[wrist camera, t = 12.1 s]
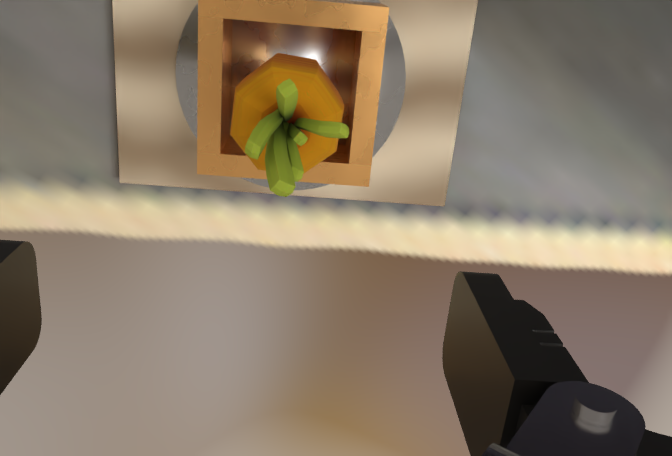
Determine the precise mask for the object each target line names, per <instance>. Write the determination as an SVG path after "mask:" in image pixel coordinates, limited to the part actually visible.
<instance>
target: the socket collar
mask: <svg viewBox="0 0 672 456" xmlns="http://www.w3.org/2000/svg"><path fill="white" fill-rule="evenodd" d="M277 53H282V54H287V55H293V56H299V57H305V58H311V59H316V60H317V62H318V63H319V65H320V66H321V68H322V69H323V70H324V72H325V73H326V75H327V76H328V78H329V79H330V80H331V82H332V83H333V85H334V86H335V88H336V89H337V90H338V92H339V94H340V96H341V98H342V100H343V103H344V112H343V118H342V123H344V124H346V125H347V126H348V127H349V135H348V138H339V140H338V146H337V151H336V152H335V153H333V154H332V155H330V156H329V157H327V158H326V159H324V160H323V161H322V162H320V163H319V164H317V165H316V166H314V167H313V168H311V169H310V170H309V171H307V172H306V173H304V174H303V176H302V179H301V180H299V181H298V182H295V185H296V187H295V189H294V190H306V189H314V188H318V187H322V186H326V185H329V184H336V185H349V186H363V187H369V183H370V174H371V165H372V157H374V155H375V154H376V153H377V152H378V151H379V150H380V148H381V147H382V146H383V145H384V143H385V142H386V140H387V139H388V137H389V135H390V134H391V132H392V130H393V128H394V126H395V124H396V122H397V120H398V117H399V114H400V111H401V107H402V103H403V98H404V93H405V81H406V71H405V59H404V54H403V49H402V45H401V42H400V39H399V36H398V33H397V30H396V28H395V26H394V24H393V22H392V20H391V18H390V16H389V7H388V6H386V5H383V4H381V3H380V2H379V0H198V3H197V5H196V6H195V8H194V9H193V11H192V12H191V14H190V16H189V18H188V20H187V22H186V24H185V26H184V29H183V32H182V35H181V38H180V41H179V45H178V50H177V56H176V71H175V73H176V87H177V92H178V97H179V102H180V105H181V108H182V111H183V114H184V117H185V119H186V121H187V123H188V125H189V127H190V129H191V131H192V132H193V134H194V135H195V137H196V139H197V174H201V175H215V176H228V177H241V178H242V179H244V180H247V181H249V182H252V183H254V184H257V185H260V186H264V187H268V188H269V184H268V180H267V176H266V171H264V170H258V169H257V168H256V167H255V165H254V164H253V163H252V161H251V160H250V159H249V158H248V156H247V155H246V154H245V153H244V151H243V150H242V149H241V148H240V146H239V145H238V144H237V142H236V141H235V140H234V139H233V137H232V136H231V135H230V130H231V121H232V112H233V103H234V94H235V87H236V86H237V85H238V84H239V83H240V81H241V80H243V79H244V78H245V77H246V76H247V75H249V74H250V73H251V72H253V71H254V70H255V69H257V68H258V67H259V66H261V65H262V64H263V63H265V62H266V61H267V60H269V59H270V58H271V57H273V56H274V55H275V54H277Z"/></svg>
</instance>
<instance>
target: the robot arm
mask: <svg viewBox="0 0 672 456" xmlns="http://www.w3.org/2000/svg"><path fill="white" fill-rule="evenodd" d="M41 319H42V318H41V306H40V296H39V286H38V276H37V266H36V256H35V251H34V248H33V246H32V244H31V243H29V242H25V241H10V240H0V395H1V393H2V392H3V391H4V389H5V388H6V386H7V385H8V384H9V382H10V381H11V380H12V378H13V377H14V376H15V374H16V373H17V372H18V370H19V369H20V368H21V366H22V365H23V364H24V362H25V361H26V360H27V358H28V357H29V356H30V354H31V353H32V351H33V350H34V348H35V347H36V344H37V342H38V339H39V335H40V330H41ZM443 369H444V374H445V377H446V380H447V384H448V387H449V390H450V393H451V396H452V399H453V402H454V405H455V408H456V411H457V415H458V418H459V421H460V424H461V427H462V430H463V433H464V436H465V440H466V443H467V446H468V449H469V452H470V455H471V456H672V437H670V436H666V435H662V434H658V433H655V432H652V431H649V430H646V429H645V421H644V419H643V416H642V415H641V414H640V412H639V411H638V409H637V408H636V407H635V406H634V405H633V404H631V403H630V402H629V401H628V400H626V399H625V398H624V397H622V396H620V395H619V394H617V393H615V392H613V391H611V390H609V389H607V388H604V387H601V386H598V385H595V384H591V383H589V382H588V381H587V379H586V378H585V376H584V375H583V373H582V372H581V370H580V369H579V367H578V366H577V364H576V363H575V361H574V360H573V358H572V357H571V355H570V354H569V352H568V351H567V349H566V348H565V347H563V343H562V342H561V340H560V339H559V337H558V336H557V334H554V330H553V328H552V327H551V325H550V324H549V322H548V321H547V319H546V318H545V316H544V315H543V314H542V313H541V312H539V311H538V310H536V309H535V308H533V307H532V306H531V305H530V304H528V303H527V302H525V301H524V300H514V299H513V298H512V296H511V294H510V293H509V291H508V290H507V288H506V286H505V284H504V283H503V281H502V279H501V278H500V276H499V275H498V274H489V273H474V272H458V274H457V276H456V278H455V281H454V286H453V292H452V297H451V302H450V308H449V314H448V319H447V326H446V331H445V336H444V342H443Z"/></svg>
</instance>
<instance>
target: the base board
mask: <svg viewBox="0 0 672 456" xmlns="http://www.w3.org/2000/svg"><path fill="white" fill-rule="evenodd" d="M379 2H380V3H381V4H383V5H386V6H388V7H389V16H390V18H391V20H392V22H393V24H394V26H395V28H396V30H397V33H398V36H399V39H400V42H401V45H402V49H403V54H404V59H405V71H406V81H405V93H404V98H403V103H402V107H401V111H400V114H399V117H398V120H397V122H396V124H395V126H394V128H393V130H392V132H391V134H390V135H389V137H388V139H387V140H386V142H385V143H384V145H383V146H382V147H381V148H380V150H379V151H378V152H377V153H376V154H375V155H374V157H372V165H371V174H370V183H369V187H363V186H349V185H336V184H329V185H326V186H322V187H318V188H314V189H306V190H294V191H293V193H292V194H290V195H296V196H310V197H323V198H337V199H351V200H365V201H378V202H392V203H406V204H420V205H433V206H445V199H446V193H447V187H448V181H449V175H450V169H451V163H452V156H453V150H454V144H455V138H456V132H457V126H458V120H459V113H460V107H461V101H462V95H463V89H464V83H465V77H466V70H467V64H468V58H469V52H470V46H471V40H472V34H473V27H474V21H475V15H476V9H477V3H478V0H379ZM197 3H198V0H112V6H113V30H114V54H115V79H116V103H117V127H118V152H119V176H120V183H131V184H145V185H159V186H172V187H186V188H200V189H214V190H227V191H241V192H255V193H269V194H275V193H273V192H272V191H270V188H268V187H264V186H260V185H257V184H254V183H252V182H249V181H247V180H244V179H242V178H241V177H228V176H215V175H201V174H197V139H196V137H195V135H194V134H193V132H192V131H191V129H190V127H189V125H188V123H187V121H186V119H185V117H184V114H183V111H182V108H181V105H180V102H179V97H178V92H177V87H176V73H175V71H176V56H177V50H178V45H179V41H180V38H181V35H182V32H183V29H184V26H185V24H186V22H187V20H188V18H189V16H190V14H191V12H192V11H193V9H194V8H195V6H196V5H197Z"/></svg>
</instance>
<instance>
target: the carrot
mask: <svg viewBox="0 0 672 456" xmlns="http://www.w3.org/2000/svg"><path fill="white" fill-rule="evenodd" d="M343 112H344V103H343V100H342V98H341V96H340V94H339V92H338V90H337V89H336V88H335V86H334V85H333V83H332V82H331V80H330V79H329V78H328V76H327V75H326V73H325V72H324V70H323V69H322V68H321V66H320V65H319V63H318V62H317V60H316V59H311V58H305V57H299V56H293V55H287V54H282V53H277V54H275V55H274V56H273V57H271V58H270V59H269V60H267V61H266V62H265V63H263V64H262V65H261V66H259V67H258V68H257V69H255V70H254V71H253V72H251V73H250V74H249V75H247V76H246V77H245V78H244V79H243V80H241V81H240V83H239V84H238V85H237V86H236V87H235V94H234V103H233V112H232V121H231V130H230V135H231V136H232V137H233V139H234V140H235V141H236V142H237V144H238V145H239V146H240V148H241V149H242V150H243V151H244V153H245V154H246V155H247V156H248V158H249V159H250V160H251V161H252V163H253V164H254V165H255V167H256V168H257V169H258V170H264V171H266V176H267V180H268V184H269V188H270V191H272V192H273V193H275V194H276V195H278V196H285V197H287V196H288V195H290V194H292V193H293V191H294V189H295V187H296V185H295V182H298V181H299V180H301V179H302V176H303V174H304V173H306V172H307V171H309V170H310V169H311V168H313V167H314V166H316V165H317V164H319V163H320V162H322V161H323V160H324V159H326V158H327V157H329V156H330V155H332V154H333V153H335V152H336V151H337V146H338V140H339V138H348V135H349V127H348V126H347V125H346V124H344V123H342V118H343Z"/></svg>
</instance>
